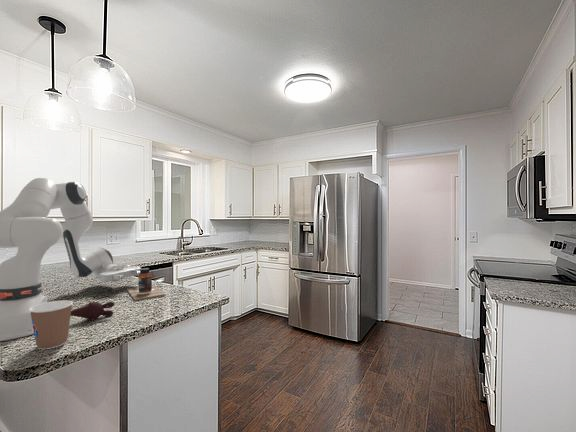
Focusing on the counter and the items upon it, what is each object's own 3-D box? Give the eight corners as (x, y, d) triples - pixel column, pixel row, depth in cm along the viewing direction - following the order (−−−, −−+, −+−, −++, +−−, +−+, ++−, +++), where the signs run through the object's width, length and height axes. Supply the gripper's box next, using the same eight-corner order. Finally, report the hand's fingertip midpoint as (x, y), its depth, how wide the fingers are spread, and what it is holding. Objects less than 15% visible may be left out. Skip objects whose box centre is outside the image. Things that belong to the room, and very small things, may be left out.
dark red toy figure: (65, 310, 98) (115, 305, 107) (66, 299, 104) (114, 295, 113) (64, 328, 100) (113, 321, 108) (65, 316, 106) (112, 311, 114)
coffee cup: (37, 341, 89) (36, 303, 89) (77, 334, 93) (76, 298, 93) (23, 355, 79) (22, 313, 79) (68, 348, 84) (67, 308, 84)
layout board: (164, 295, 136) (164, 293, 136) (134, 301, 128) (134, 299, 128) (154, 286, 154) (154, 284, 154) (127, 290, 146) (127, 289, 146)
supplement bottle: (153, 289, 144) (153, 267, 144) (149, 292, 139) (149, 269, 139) (141, 290, 144) (140, 267, 144) (136, 293, 138) (136, 270, 138)
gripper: (93, 270, 143) (110, 273, 137) (131, 264, 161) (147, 265, 155) (93, 283, 143) (110, 286, 137) (131, 275, 161) (148, 277, 155)
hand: (130, 275), depth 146 cm, fingers open, 8 cm apart
